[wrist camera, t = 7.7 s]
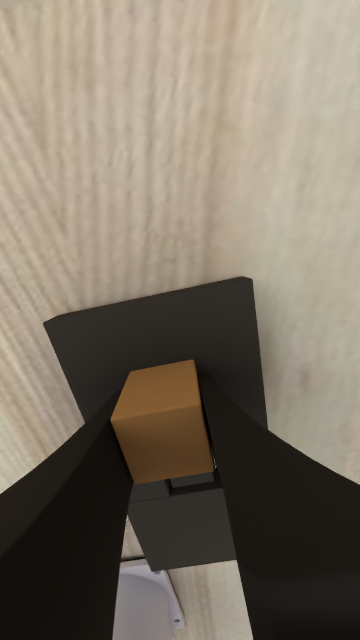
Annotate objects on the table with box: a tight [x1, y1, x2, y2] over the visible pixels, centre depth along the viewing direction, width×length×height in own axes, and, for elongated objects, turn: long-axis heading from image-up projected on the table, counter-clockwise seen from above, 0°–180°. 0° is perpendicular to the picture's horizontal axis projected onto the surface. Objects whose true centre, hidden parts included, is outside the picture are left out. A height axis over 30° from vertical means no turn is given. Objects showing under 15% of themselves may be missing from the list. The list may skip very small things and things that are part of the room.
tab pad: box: [43, 276, 268, 488], centre depth 9 cm, size 9×11×4 cm
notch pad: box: [127, 469, 237, 572], centre depth 13 cm, size 9×9×1 cm
